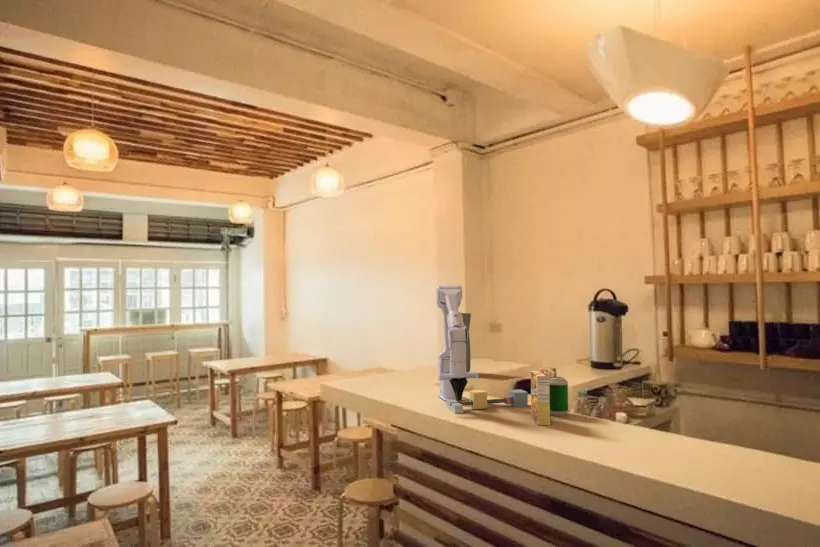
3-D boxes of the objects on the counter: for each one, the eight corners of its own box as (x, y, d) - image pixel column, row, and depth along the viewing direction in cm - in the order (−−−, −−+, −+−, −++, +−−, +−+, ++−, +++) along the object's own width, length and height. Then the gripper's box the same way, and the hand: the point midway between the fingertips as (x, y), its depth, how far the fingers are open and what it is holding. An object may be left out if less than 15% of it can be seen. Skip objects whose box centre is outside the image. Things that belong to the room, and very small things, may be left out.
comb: (446, 407, 175) (446, 400, 175) (454, 406, 175) (454, 399, 175) (455, 413, 166) (454, 405, 166) (463, 412, 167) (463, 405, 167)
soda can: (569, 417, 160) (568, 380, 160) (545, 416, 161) (545, 379, 161) (567, 411, 167) (566, 376, 167) (544, 410, 168) (543, 375, 169)
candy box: (530, 418, 159) (529, 370, 160) (543, 417, 159) (542, 370, 160) (537, 425, 150) (536, 375, 151) (551, 425, 150) (550, 375, 151)
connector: (504, 404, 178) (504, 390, 178) (521, 403, 180) (520, 389, 180) (511, 407, 173) (510, 393, 174) (527, 406, 175) (527, 392, 175)
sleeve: (469, 406, 174) (469, 390, 174) (482, 405, 175) (482, 389, 176) (474, 409, 170) (473, 392, 170) (487, 408, 172) (487, 391, 172)
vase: (476, 372, 246) (475, 313, 247) (461, 376, 237) (460, 314, 238) (457, 370, 254) (456, 312, 255) (442, 373, 245) (441, 313, 246)
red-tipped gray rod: (453, 409, 169) (453, 401, 169) (450, 407, 172) (450, 399, 172) (513, 404, 175) (513, 397, 175) (510, 402, 177) (510, 395, 178)
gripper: (442, 363, 166) (442, 403, 165) (481, 361, 169) (482, 401, 169) (435, 360, 173) (436, 399, 172) (473, 358, 176) (474, 396, 176)
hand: (458, 399), depth 171 cm, fingers closed
